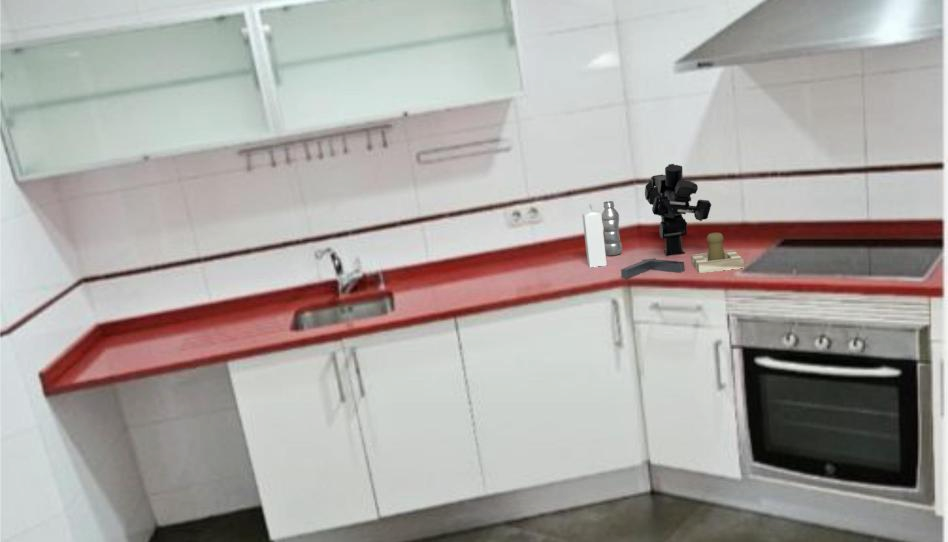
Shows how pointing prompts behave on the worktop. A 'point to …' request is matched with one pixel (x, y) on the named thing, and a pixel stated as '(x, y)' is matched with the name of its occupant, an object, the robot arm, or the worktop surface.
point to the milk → (594, 238)
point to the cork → (715, 246)
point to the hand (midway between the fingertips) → (687, 218)
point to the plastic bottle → (611, 229)
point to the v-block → (652, 267)
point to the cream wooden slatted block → (717, 262)
